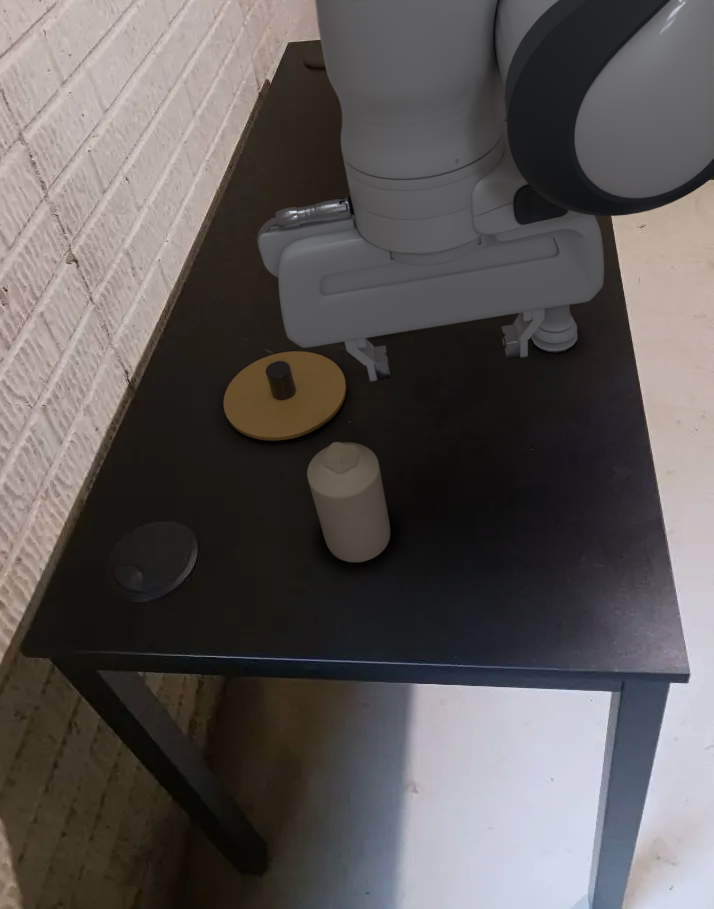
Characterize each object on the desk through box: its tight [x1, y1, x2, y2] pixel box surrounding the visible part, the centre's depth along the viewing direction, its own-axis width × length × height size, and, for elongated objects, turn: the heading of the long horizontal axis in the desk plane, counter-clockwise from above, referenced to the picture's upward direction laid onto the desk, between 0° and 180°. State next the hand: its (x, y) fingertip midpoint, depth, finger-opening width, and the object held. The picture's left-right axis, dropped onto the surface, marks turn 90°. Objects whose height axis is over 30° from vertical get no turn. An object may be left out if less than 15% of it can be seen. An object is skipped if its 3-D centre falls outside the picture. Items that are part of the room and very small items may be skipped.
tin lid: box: [223, 350, 347, 442], centre depth 79 cm, size 12×12×4 cm
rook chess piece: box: [531, 305, 578, 353], centre depth 78 cm, size 4×4×8 cm
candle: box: [306, 441, 391, 563], centre depth 64 cm, size 6×6×10 cm
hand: (446, 363), depth 57 cm, fingers open, 8 cm apart
